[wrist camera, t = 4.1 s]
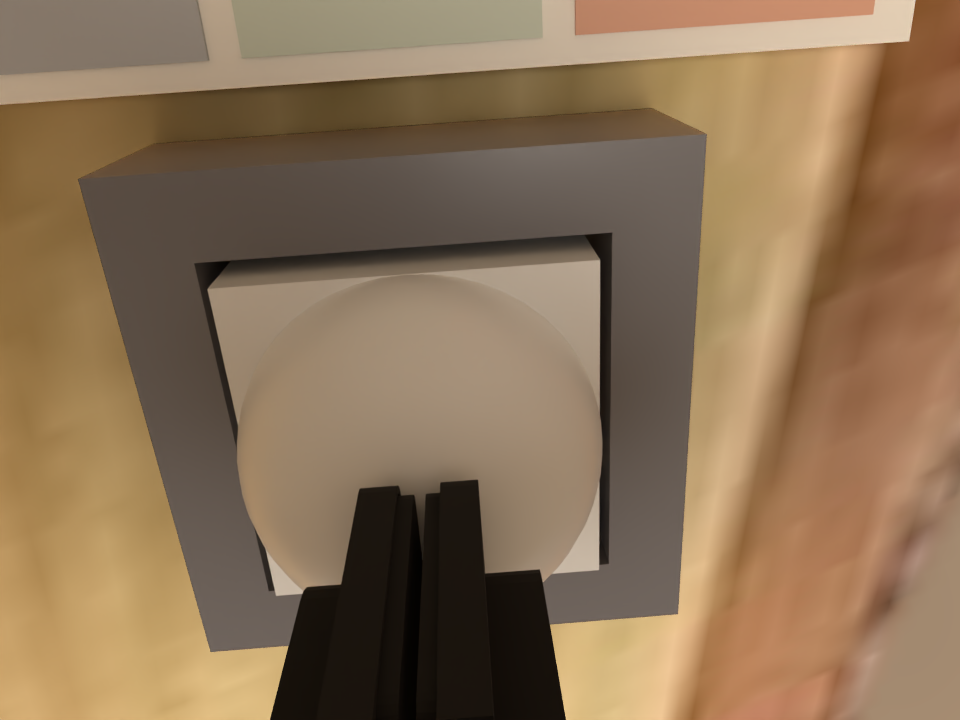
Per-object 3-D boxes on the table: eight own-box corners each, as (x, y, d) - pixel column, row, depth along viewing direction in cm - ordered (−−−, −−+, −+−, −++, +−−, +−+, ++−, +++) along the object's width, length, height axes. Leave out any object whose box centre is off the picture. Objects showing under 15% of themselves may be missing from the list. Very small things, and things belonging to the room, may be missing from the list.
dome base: (153, 144, 15) (78, 178, 12) (651, 108, 15) (706, 134, 12) (248, 546, 19) (210, 652, 16) (639, 515, 20) (678, 614, 16)
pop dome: (251, 236, 15) (135, 374, 9) (570, 213, 15) (647, 335, 10) (302, 500, 18) (236, 735, 12) (573, 480, 18) (635, 703, 12)
